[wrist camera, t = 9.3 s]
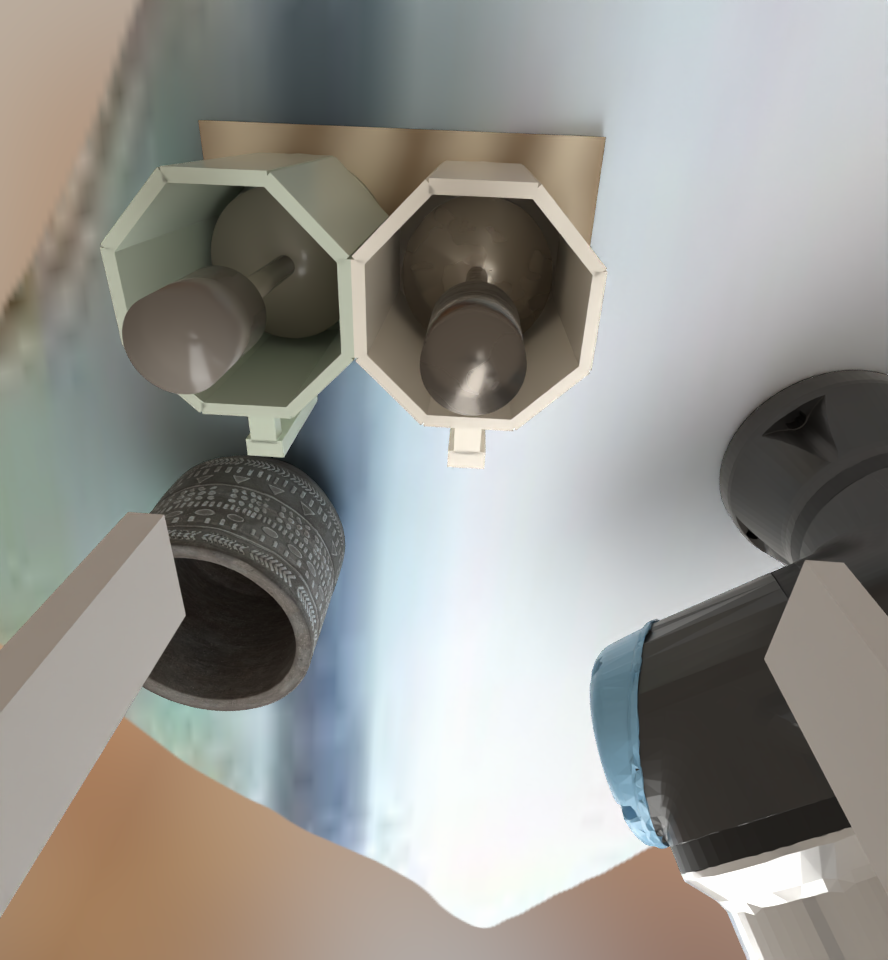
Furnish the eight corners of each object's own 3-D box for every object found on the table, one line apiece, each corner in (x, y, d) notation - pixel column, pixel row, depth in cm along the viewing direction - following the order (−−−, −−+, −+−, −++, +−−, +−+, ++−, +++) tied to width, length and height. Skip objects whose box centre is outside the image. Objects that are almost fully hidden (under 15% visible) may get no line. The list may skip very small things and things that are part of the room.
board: (602, 136, 37) (605, 137, 36) (570, 361, 44) (572, 367, 43) (206, 120, 38) (198, 120, 37) (236, 344, 45) (230, 349, 44)
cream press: (576, 165, 37) (621, 186, 25) (547, 390, 44) (571, 492, 32) (391, 157, 37) (347, 174, 25) (393, 382, 44) (358, 480, 32)
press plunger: (560, 196, 33) (612, 247, 20) (542, 349, 37) (574, 476, 24) (403, 190, 33) (350, 235, 20) (403, 342, 38) (359, 463, 24)
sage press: (391, 157, 37) (312, 187, 20) (393, 382, 44) (335, 549, 27) (210, 149, 38) (-24, 173, 20) (240, 374, 45) (87, 533, 27)
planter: (168, 428, 49) (54, 539, 36) (348, 433, 48) (298, 548, 35) (203, 572, 56) (119, 708, 43) (360, 578, 55) (323, 718, 42)
